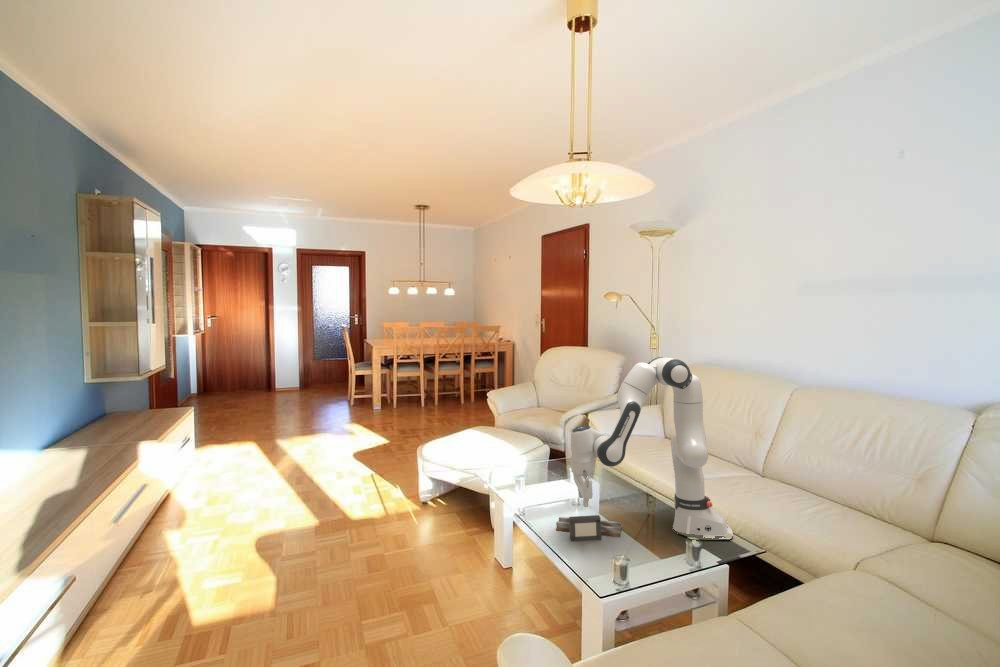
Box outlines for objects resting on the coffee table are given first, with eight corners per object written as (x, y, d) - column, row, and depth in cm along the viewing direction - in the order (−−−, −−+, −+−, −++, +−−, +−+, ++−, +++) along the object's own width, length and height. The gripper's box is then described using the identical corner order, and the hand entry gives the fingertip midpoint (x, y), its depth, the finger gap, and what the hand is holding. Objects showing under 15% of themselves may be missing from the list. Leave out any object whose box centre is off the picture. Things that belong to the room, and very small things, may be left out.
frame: (599, 537, 194) (599, 515, 194) (601, 540, 192) (600, 517, 191) (570, 538, 194) (569, 516, 193) (571, 541, 191) (570, 519, 191)
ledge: (621, 528, 201) (621, 521, 201) (620, 537, 193) (619, 529, 193) (560, 522, 209) (559, 515, 209) (556, 530, 202) (555, 523, 202)
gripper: (596, 475, 181) (597, 511, 182) (585, 459, 202) (586, 492, 202) (579, 476, 181) (580, 512, 182) (570, 460, 202) (571, 492, 202)
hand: (583, 501), depth 192 cm, fingers open, 8 cm apart
